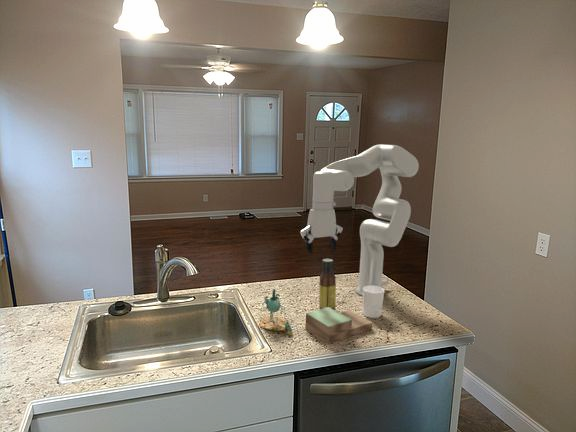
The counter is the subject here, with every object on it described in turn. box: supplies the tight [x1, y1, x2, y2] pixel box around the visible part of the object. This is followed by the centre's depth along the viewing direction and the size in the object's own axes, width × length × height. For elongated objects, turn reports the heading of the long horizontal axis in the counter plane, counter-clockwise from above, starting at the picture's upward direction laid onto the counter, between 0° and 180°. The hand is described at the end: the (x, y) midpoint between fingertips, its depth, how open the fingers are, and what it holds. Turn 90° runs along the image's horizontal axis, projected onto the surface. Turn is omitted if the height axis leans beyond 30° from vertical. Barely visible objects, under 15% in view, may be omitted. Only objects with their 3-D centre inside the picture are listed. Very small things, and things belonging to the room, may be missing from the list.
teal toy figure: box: [259, 288, 294, 337], centre depth 148 cm, size 10×18×15 cm, turn 29°
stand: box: [304, 307, 374, 345], centre depth 147 cm, size 20×12×6 cm, turn 125°
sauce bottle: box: [318, 258, 337, 311], centre depth 162 cm, size 7×6×20 cm
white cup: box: [362, 286, 385, 319], centre depth 160 cm, size 8×8×10 cm
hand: (321, 251), depth 158 cm, fingers open, 9 cm apart
